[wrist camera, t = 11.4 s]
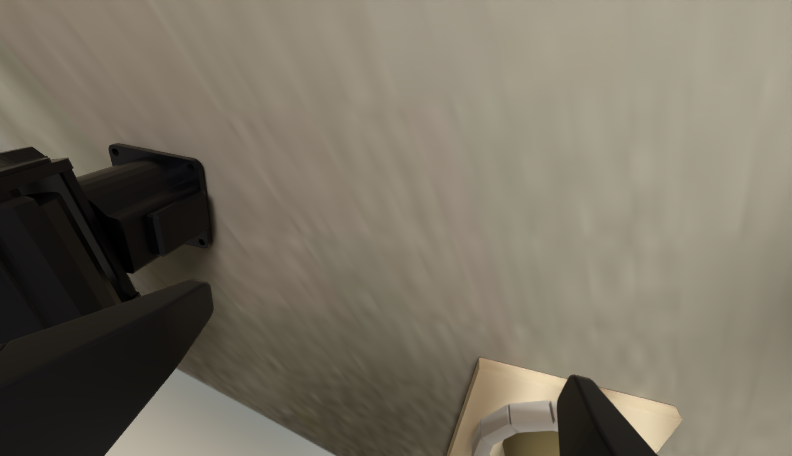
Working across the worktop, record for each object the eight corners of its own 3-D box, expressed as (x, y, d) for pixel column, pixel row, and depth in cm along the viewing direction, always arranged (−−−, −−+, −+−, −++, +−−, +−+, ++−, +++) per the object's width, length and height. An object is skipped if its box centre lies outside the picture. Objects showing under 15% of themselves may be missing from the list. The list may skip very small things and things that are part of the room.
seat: (444, 462, 31) (441, 493, 29) (479, 357, 25) (479, 386, 23) (598, 507, 29) (607, 543, 27) (674, 406, 23) (695, 442, 21)
